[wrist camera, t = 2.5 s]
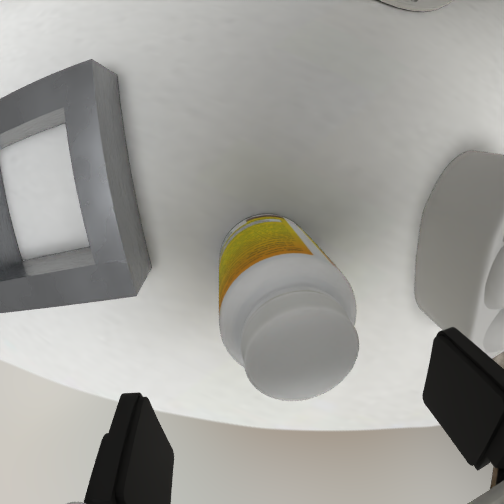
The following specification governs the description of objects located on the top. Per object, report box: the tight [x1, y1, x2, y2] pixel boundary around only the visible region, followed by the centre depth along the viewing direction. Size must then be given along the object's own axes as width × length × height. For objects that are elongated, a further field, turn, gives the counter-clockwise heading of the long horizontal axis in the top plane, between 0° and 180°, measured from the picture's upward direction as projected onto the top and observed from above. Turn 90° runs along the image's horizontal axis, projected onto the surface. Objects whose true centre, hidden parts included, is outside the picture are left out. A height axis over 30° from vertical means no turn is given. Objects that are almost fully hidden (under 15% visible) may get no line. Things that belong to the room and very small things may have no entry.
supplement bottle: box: [219, 214, 359, 401], centre depth 15 cm, size 6×6×10 cm
